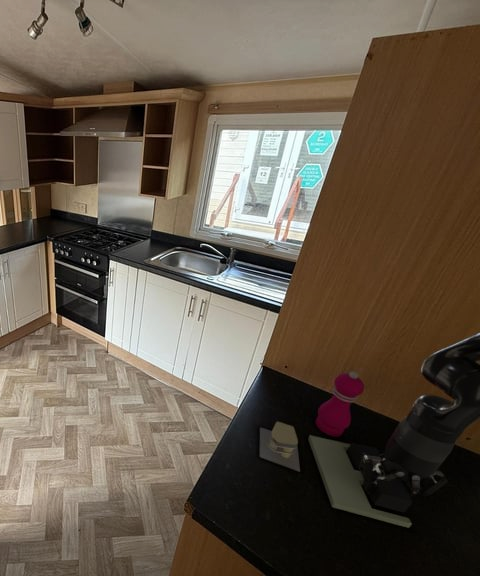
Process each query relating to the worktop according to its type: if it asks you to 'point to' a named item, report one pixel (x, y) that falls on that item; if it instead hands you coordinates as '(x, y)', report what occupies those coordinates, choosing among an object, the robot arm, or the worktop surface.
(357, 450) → the dark charcoal cube
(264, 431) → the stacked layers on plate
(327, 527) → the worktop surface
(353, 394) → the pepper mill
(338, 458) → the pale green e-shaped block
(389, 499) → the black block
